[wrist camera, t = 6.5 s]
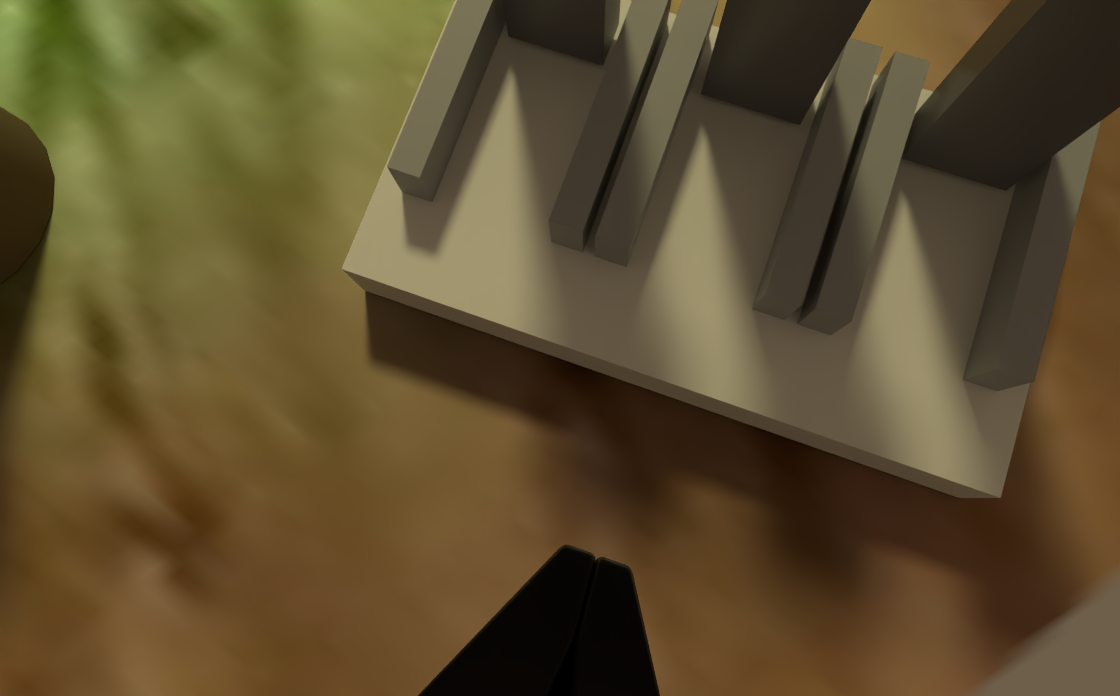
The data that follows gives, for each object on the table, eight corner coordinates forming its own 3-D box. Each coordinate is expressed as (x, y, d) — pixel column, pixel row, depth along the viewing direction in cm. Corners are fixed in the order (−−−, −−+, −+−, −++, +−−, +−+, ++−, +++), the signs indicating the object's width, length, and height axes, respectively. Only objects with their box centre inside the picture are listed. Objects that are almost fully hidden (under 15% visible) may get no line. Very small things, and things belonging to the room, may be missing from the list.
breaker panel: (958, 497, 20) (1038, 497, 16) (364, 290, 21) (321, 249, 18) (1045, 173, 21) (1135, 109, 18) (484, 1, 23) (465, -89, 19)
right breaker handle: (1017, 206, 19) (1472, -103, 9) (883, 164, 19) (1187, -177, 9) (1035, 139, 19) (1496, -232, 9) (903, 98, 19) (1217, -299, 10)
